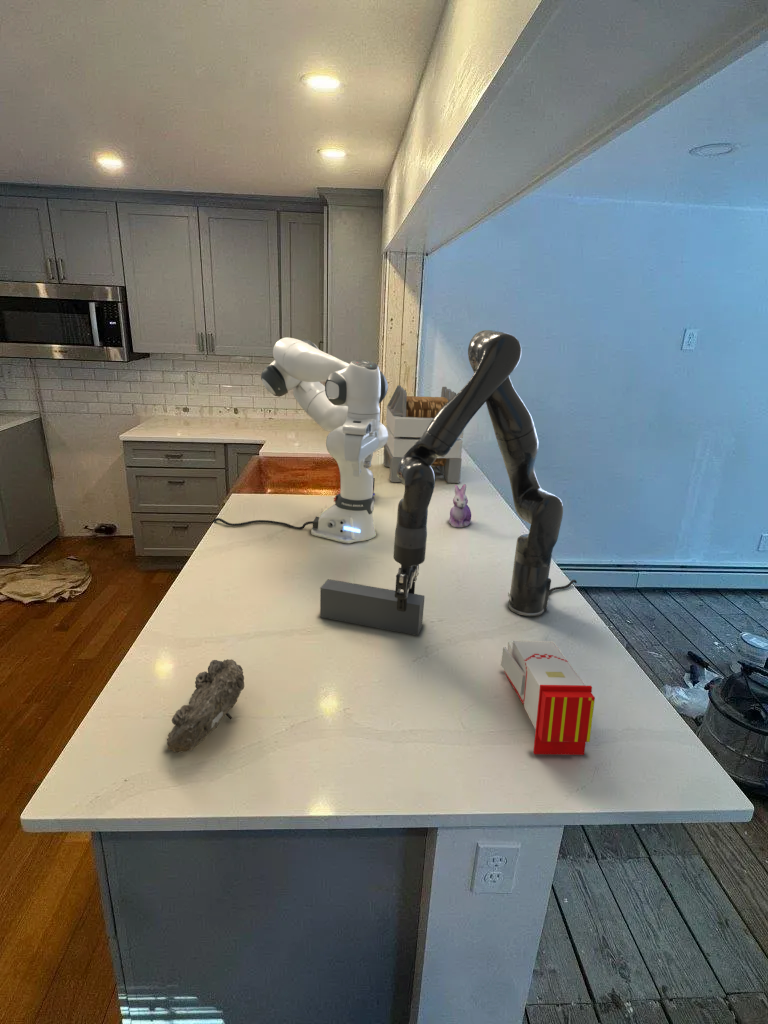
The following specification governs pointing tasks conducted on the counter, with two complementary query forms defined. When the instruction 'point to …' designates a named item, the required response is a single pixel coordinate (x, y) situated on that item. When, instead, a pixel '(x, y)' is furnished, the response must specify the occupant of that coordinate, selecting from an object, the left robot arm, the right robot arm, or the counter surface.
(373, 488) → the figurine character
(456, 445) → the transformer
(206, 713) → the fossil
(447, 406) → the right robot arm
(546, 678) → the toy
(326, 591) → the bar
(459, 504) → the figurine
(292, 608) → the counter surface
